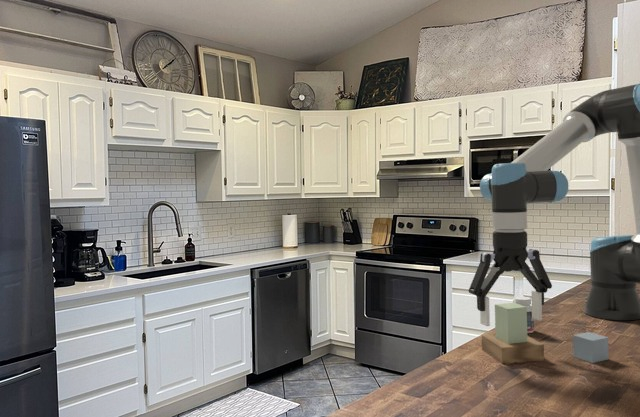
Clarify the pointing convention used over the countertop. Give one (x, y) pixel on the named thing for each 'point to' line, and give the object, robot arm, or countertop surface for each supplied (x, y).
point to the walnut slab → (513, 350)
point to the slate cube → (590, 347)
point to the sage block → (511, 323)
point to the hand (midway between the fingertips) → (511, 322)
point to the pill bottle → (526, 302)
